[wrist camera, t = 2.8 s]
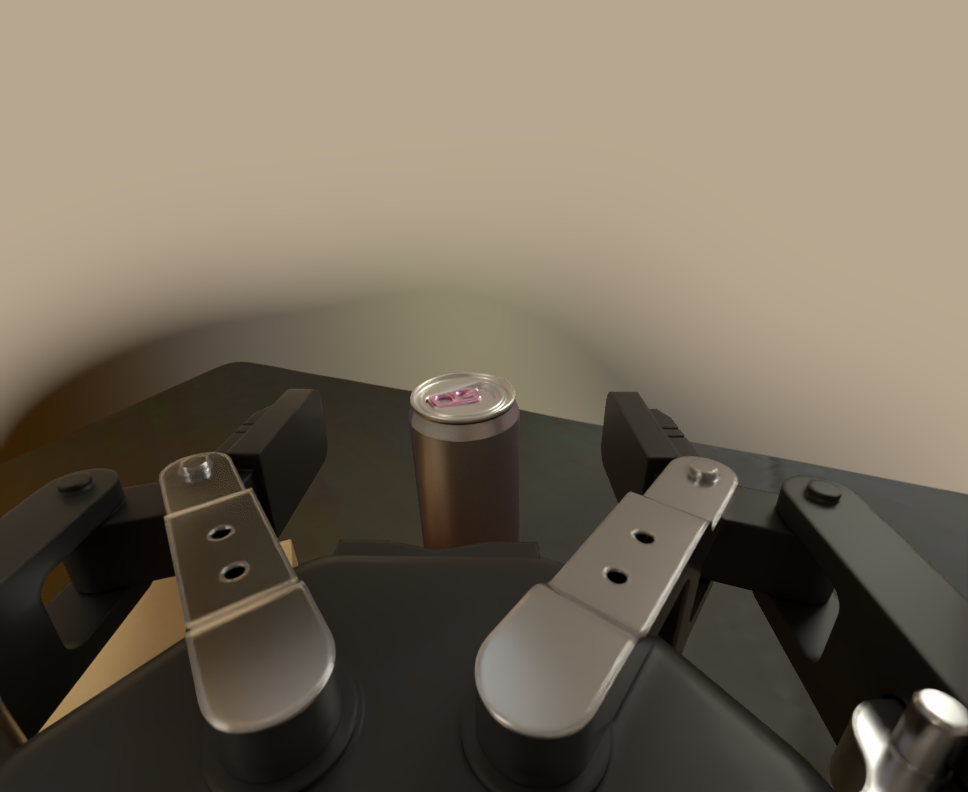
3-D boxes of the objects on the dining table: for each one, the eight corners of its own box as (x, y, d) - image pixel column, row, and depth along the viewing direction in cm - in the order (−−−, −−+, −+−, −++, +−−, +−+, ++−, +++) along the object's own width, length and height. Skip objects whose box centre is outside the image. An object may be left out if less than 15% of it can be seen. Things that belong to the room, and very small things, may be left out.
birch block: (306, 594, 33) (290, 538, 30) (322, 763, 24) (301, 701, 21) (117, 654, 29) (83, 596, 27) (49, 880, 20) (-11, 820, 18)
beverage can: (419, 575, 34) (394, 382, 27) (497, 549, 36) (491, 362, 29) (447, 646, 29) (425, 432, 22) (535, 611, 31) (540, 404, 24)
